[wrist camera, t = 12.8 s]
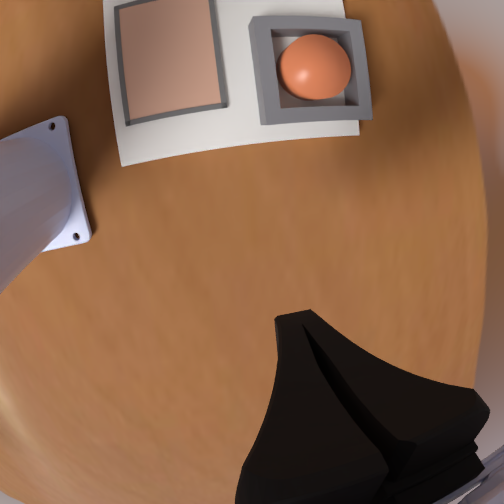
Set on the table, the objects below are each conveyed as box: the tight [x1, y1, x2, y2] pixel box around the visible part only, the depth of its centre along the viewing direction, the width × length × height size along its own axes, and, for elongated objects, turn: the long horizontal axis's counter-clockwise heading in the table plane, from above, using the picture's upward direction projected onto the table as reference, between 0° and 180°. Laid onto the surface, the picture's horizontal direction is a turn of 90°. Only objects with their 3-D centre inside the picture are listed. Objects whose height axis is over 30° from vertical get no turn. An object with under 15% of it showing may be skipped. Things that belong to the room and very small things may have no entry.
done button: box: [276, 34, 351, 101], centre depth 14 cm, size 4×4×2 cm
